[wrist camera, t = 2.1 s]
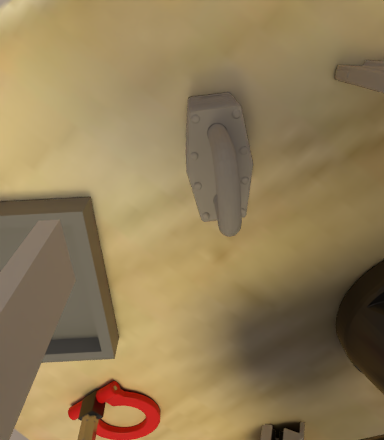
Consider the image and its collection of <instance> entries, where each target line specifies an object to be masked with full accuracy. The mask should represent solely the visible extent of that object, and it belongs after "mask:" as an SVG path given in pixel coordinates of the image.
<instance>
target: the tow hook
mask: <svg viewBox="0 0 384 440" xmlns="http://www.w3.org/2000/svg"><path fill="white" fill-rule="evenodd" d="M105 402H107V403H108V404H110V405H112V406H123V405H125V406H132V407H135V408H138V409H139V410H141V411H142V412H144V413H145V415H146V419H145V420H144V421H143V422H142V423H140V424H139V425H136V426H132V427H114V426H110V425H108V424H106V423H104V422H103V421H102V420H101V418H102V417H103V414H104V408H105ZM68 415H69V417H70V418H71V419H72V420H76V419H77V418H78V419H79V420H81V421H82V422H81V426H80V431H79V435H78V440H95V438H96V435H99V436H101V437H104V438H107V439H113V440H131V439H137V438H140V437H143V436H146V435H148V434H149V433H151V432H153V431H154V430H155V429H156V428H157V426H158V424H159V422H160V409H159V407H158V405H157V404H156V403H155V402H154V401H153V400H151V399H150V398H148V397H146V396H144V395H141V394H138V393H133V392H125V391H123V390H121V389H120V386H119V384H118V383H117V382H116V381H113V382H111V383H110V384H108V385H106V386H105V387H103V388H101V389H100V390H96V391H95V392H93V393H91V394H90V395H88V396H86V397H85V398H84V399H83V400H82V401H80V402H78V403H77V404H75V405H73V406H72V407H70V408H69V410H68Z"/></svg>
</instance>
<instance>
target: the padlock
mask: <svg viewBox="0 0 384 440" xmlns="http://www.w3.org/2000/svg"><path fill="white" fill-rule="evenodd" d="M186 167H187V174H188V178H189V181H190V184H191V187H192V191H193V194H194V197H195V200H196V203H197V207H198V210H199V213H200V216H201V220H202V221H204V222H207V221H216V220H217V221H218V226H219V229H220V231H221V233H222V234H224V235H225V236H234V235H236V234H237V233H238V232H239V230H240V228H241V222H242V217H245V216H246V212H247V205H248V197H249V190H250V183H251V175H252V168H253V161H252V156H251V151H250V146H249V142H248V137H247V132H246V127H245V122H244V118H243V113H242V108H241V105H240V104H239V103H238V102H237V101H236V99H235V98H234V97H233V96H232V95H231V93H229V92H227V93H219V94H211V95H203V96H195V97H189V98H188V108H187V133H186Z"/></svg>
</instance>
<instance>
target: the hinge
mask: <svg viewBox="0 0 384 440" xmlns="http://www.w3.org/2000/svg"><path fill="white" fill-rule="evenodd" d="M304 426H305V422H300V433H297V432H294V431H292V430H289V429H286V428H284V432H283V431H280V435H279V439H278V438H276V430H275V429H273V425H267V424H266V425H262V432H261V439H260V440H304Z"/></svg>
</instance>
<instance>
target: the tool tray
mask: <svg viewBox="0 0 384 440" xmlns="http://www.w3.org/2000/svg"><path fill="white" fill-rule="evenodd" d="M43 220H60V222H61V226H62V230H63V234H64V238H65V241H66V245H67V249H68V253H69V257H70V261H71V264H72V268H73V272H74V276H75V280H76V281H75V283H74V285H73V288H72V290H71V293H70V295H69V297H68V300H67V302H66V305H65V307H64V309H63V312H62V314H61V317H60V319H59V321H58V324H57V326H56V329H55V331H54V333H53V336H52V338H51V341H50V343H49V345H48V348H47V350H46V353H45V355H44V357H43V360H42V362H41V363H44V362H63V361H81V360H100V359H115V354H116V349H117V344H118V340H119V335H118V330H117V325H116V321H115V316H114V311H113V306H112V301H111V296H110V291H109V286H108V281H107V276H106V271H105V266H104V261H103V256H102V251H101V246H100V241H99V236H98V231H97V226H96V221H95V216H94V211H93V206H92V201H91V197H80V198H61V199H42V200H23V201H4V202H0V272H1V270H2V269H3V268H4V266H5V265H6V264H7V262H8V261H9V260H10V258H11V257H12V256H13V254H14V253H15V252H16V250H17V249H18V248H19V246H20V245H21V244H22V242H23V241H24V239H25V238H26V237H27V235H28V234H29V233H30V231H31V230H32V229H33V227H34V226H35V225H36V223H37V222H38V221H43Z"/></svg>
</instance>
